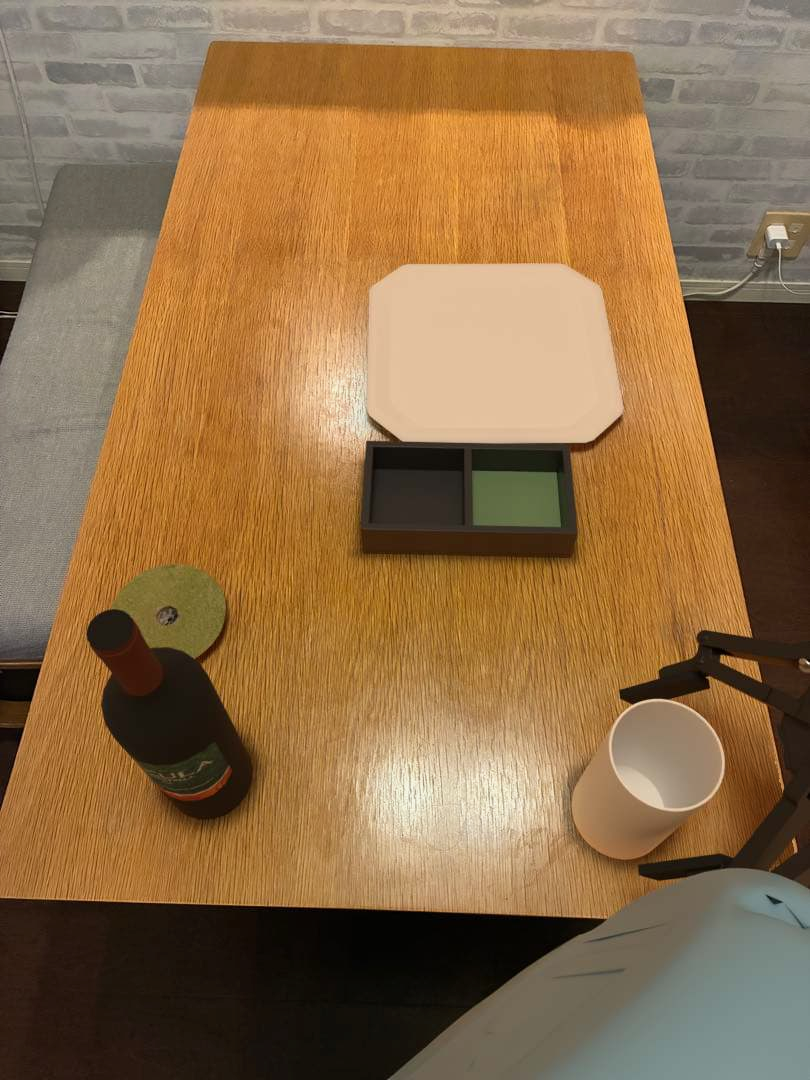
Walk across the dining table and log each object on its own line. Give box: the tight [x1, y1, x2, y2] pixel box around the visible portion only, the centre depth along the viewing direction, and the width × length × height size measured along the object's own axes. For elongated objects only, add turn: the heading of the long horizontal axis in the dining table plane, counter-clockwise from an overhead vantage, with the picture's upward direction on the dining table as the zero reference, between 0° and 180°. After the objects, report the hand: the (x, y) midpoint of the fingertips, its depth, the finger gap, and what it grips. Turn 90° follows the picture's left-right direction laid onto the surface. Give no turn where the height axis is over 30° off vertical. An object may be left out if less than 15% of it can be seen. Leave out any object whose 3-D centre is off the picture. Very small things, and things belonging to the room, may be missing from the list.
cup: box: [571, 699, 726, 860], centre depth 67 cm, size 8×8×16 cm
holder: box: [360, 440, 579, 558], centre depth 89 cm, size 11×21×5 cm, turn 88°
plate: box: [365, 262, 625, 446], centre depth 101 cm, size 29×29×2 cm
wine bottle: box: [85, 608, 254, 821], centre depth 63 cm, size 8×8×30 cm
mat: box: [110, 563, 227, 659], centre depth 83 cm, size 11×11×2 cm
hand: (637, 781), depth 67 cm, fingers open, 13 cm apart
